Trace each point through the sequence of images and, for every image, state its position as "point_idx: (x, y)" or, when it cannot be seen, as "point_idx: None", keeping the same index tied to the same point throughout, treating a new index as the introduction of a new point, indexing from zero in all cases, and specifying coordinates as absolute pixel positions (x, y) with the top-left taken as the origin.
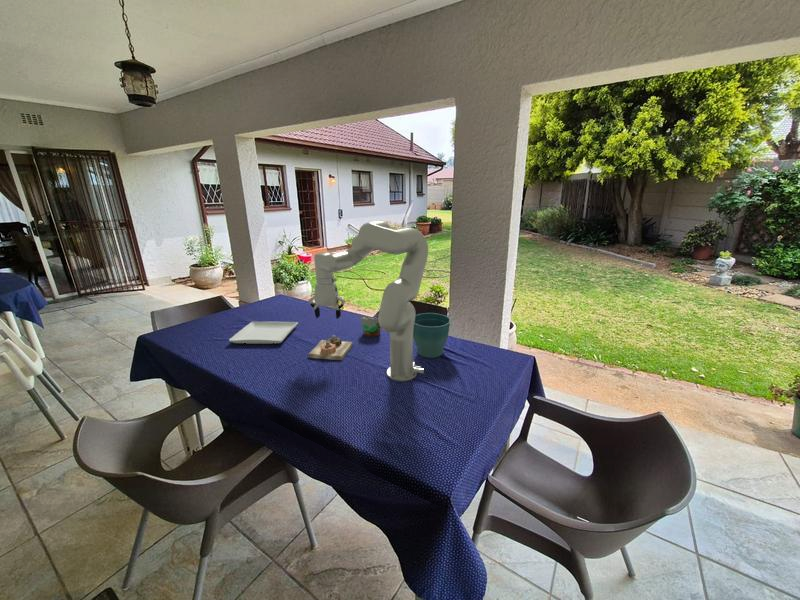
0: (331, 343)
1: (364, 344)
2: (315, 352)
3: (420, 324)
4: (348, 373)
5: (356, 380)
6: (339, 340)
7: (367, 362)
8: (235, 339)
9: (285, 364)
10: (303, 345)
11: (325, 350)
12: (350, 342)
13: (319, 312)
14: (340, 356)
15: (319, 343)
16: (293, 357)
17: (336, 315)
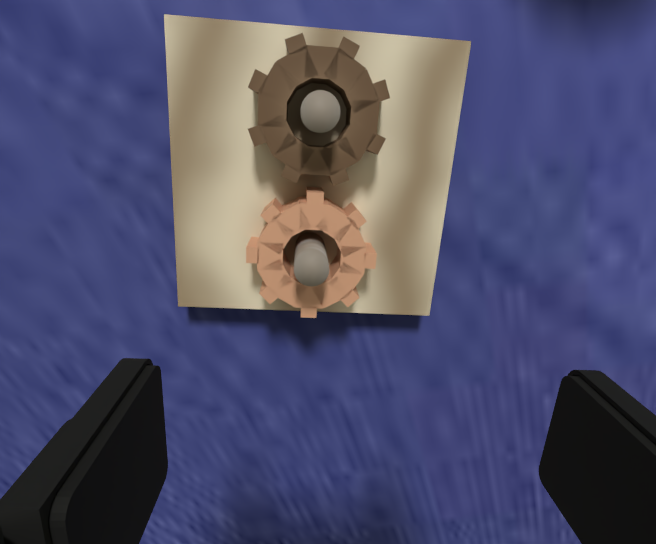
0: (322, 199)
1: (557, 10)
2: (220, 282)
3: None
4: (485, 436)
5: (532, 485)
6: (377, 122)
7: (584, 312)
8: None
9: (83, 393)
10: (23, 83)
11: (309, 314)
12: (455, 55)
13: (129, 429)
14: (419, 314)
15: (177, 107)
16: (75, 302)
17: (582, 533)
